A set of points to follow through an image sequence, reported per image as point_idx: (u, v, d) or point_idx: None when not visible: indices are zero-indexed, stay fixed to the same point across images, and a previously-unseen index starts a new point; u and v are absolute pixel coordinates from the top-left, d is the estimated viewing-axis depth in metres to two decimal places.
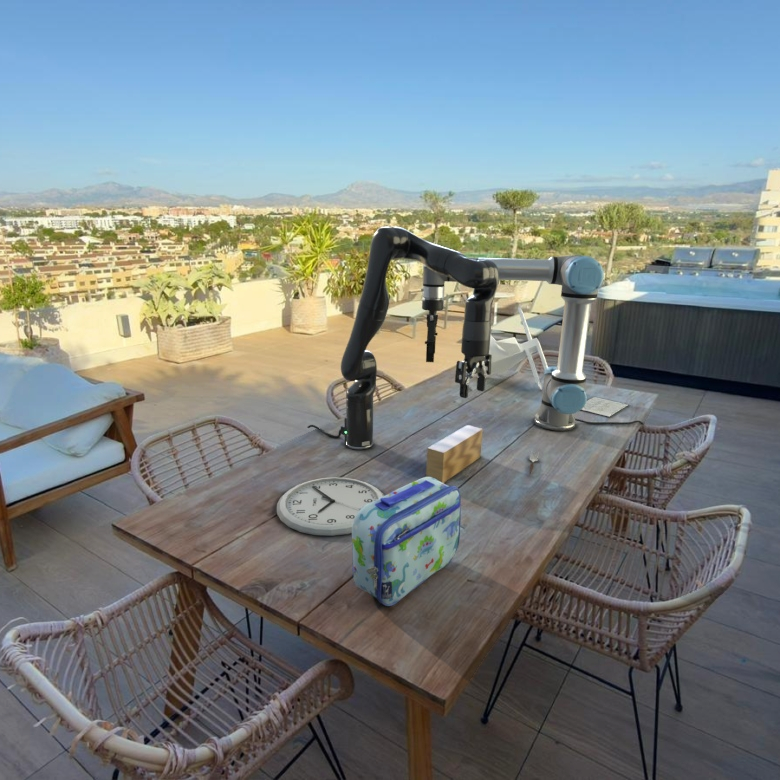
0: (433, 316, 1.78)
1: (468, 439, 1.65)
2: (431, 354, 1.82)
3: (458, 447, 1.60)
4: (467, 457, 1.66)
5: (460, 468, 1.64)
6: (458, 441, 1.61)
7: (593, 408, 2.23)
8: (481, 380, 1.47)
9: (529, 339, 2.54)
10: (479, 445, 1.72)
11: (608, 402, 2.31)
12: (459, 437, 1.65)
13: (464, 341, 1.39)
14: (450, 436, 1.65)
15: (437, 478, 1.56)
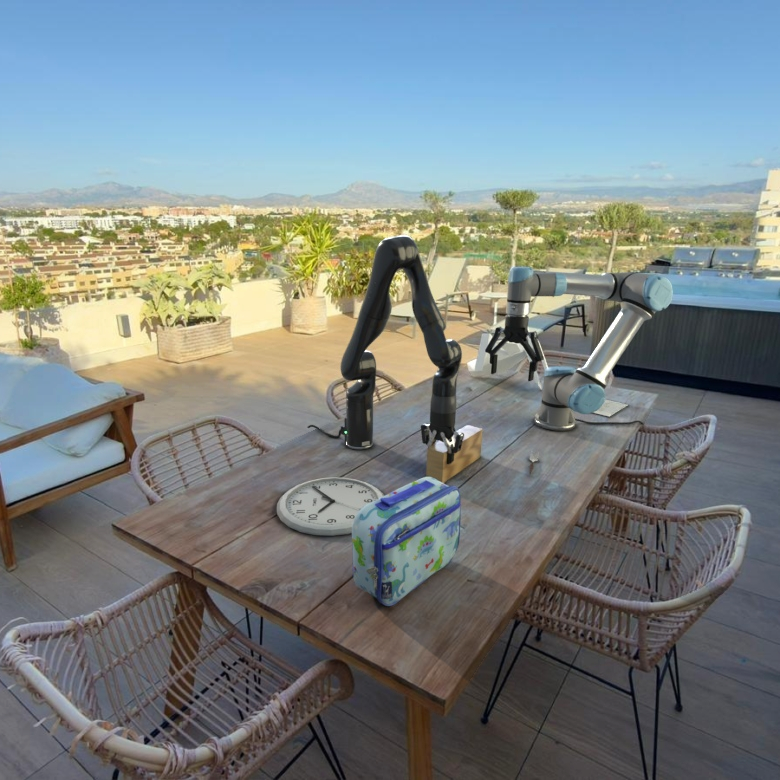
0: (535, 332, 1.71)
1: (468, 439, 1.65)
2: (533, 372, 1.74)
3: None
4: (467, 457, 1.66)
5: (460, 468, 1.64)
6: None
7: None
8: None
9: (529, 339, 2.54)
10: (479, 445, 1.72)
11: (608, 402, 2.31)
12: None
13: (450, 415, 1.50)
14: None
15: (437, 478, 1.56)
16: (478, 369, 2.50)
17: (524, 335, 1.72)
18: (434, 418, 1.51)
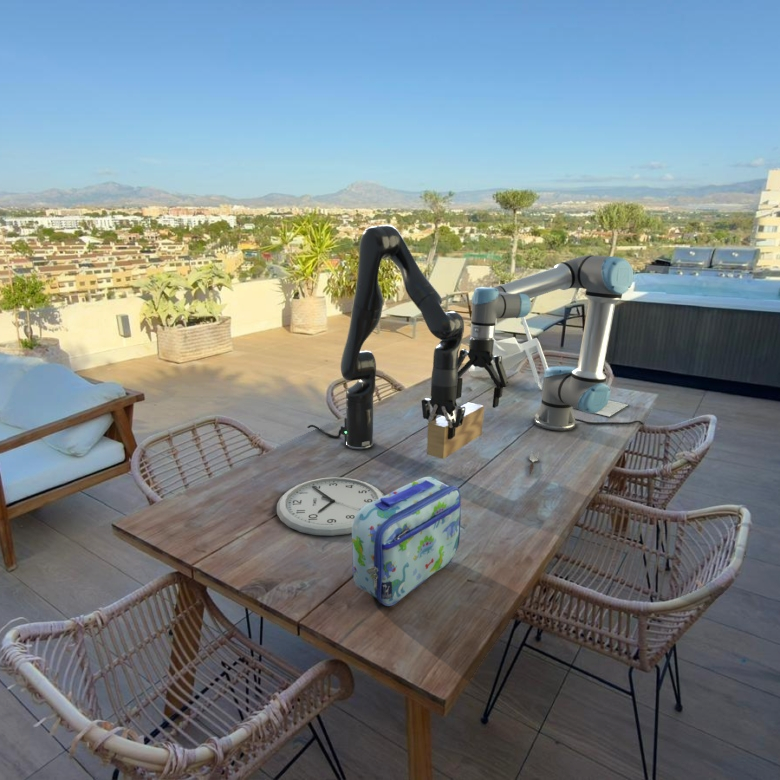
0: (500, 357, 1.62)
1: (469, 415, 1.62)
2: (498, 398, 1.65)
3: None
4: (468, 434, 1.64)
5: (461, 444, 1.62)
6: None
7: None
8: None
9: (529, 339, 2.54)
10: (480, 422, 1.70)
11: (608, 402, 2.31)
12: None
13: (451, 389, 1.48)
14: None
15: (438, 453, 1.54)
16: (478, 369, 2.50)
17: (488, 359, 1.63)
18: (435, 392, 1.49)
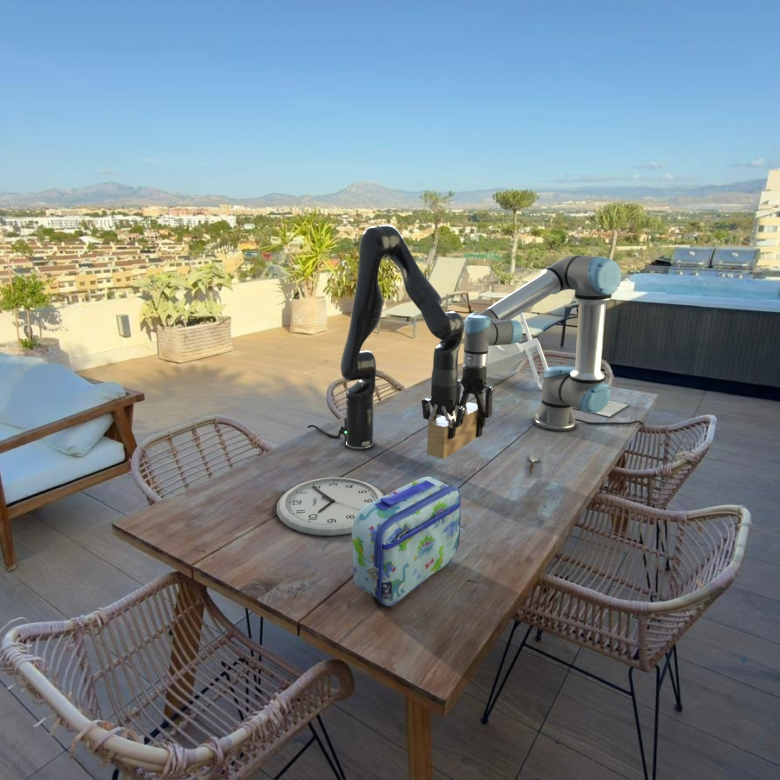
0: (493, 389, 1.63)
1: (470, 415, 1.62)
2: (481, 427, 1.69)
3: None
4: (468, 434, 1.64)
5: (461, 444, 1.61)
6: None
7: None
8: None
9: (529, 339, 2.54)
10: None
11: (608, 402, 2.31)
12: None
13: (451, 389, 1.48)
14: None
15: (438, 453, 1.54)
16: None
17: (482, 387, 1.63)
18: (435, 392, 1.49)
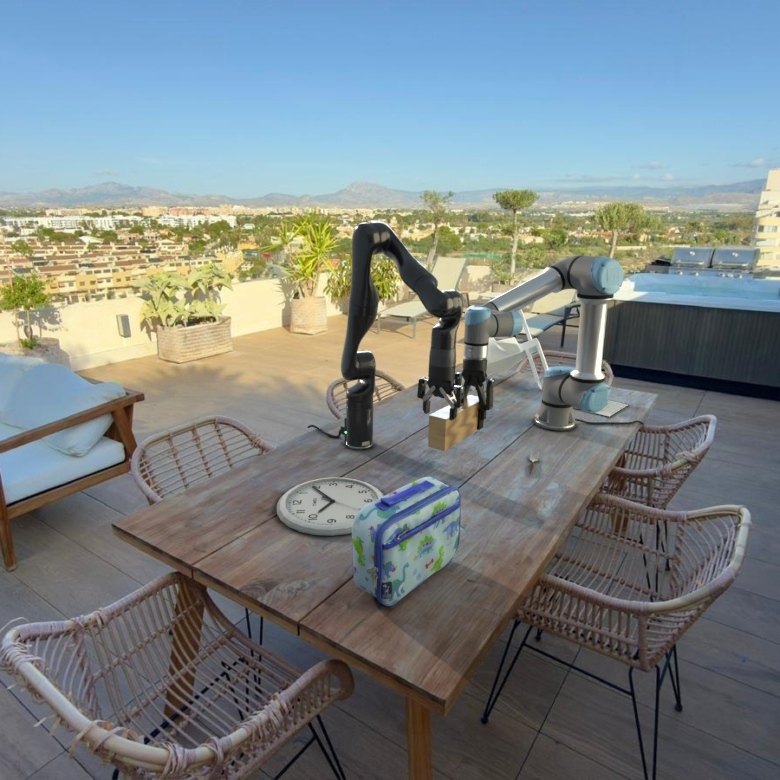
0: (494, 381, 1.62)
1: (471, 407, 1.61)
2: (482, 420, 1.68)
3: (460, 415, 1.57)
4: (469, 426, 1.63)
5: (463, 437, 1.61)
6: (460, 409, 1.58)
7: None
8: (428, 402, 1.53)
9: (529, 339, 2.54)
10: None
11: (608, 402, 2.31)
12: None
13: (450, 369, 1.44)
14: None
15: (439, 446, 1.53)
16: None
17: (482, 379, 1.63)
18: (433, 373, 1.45)
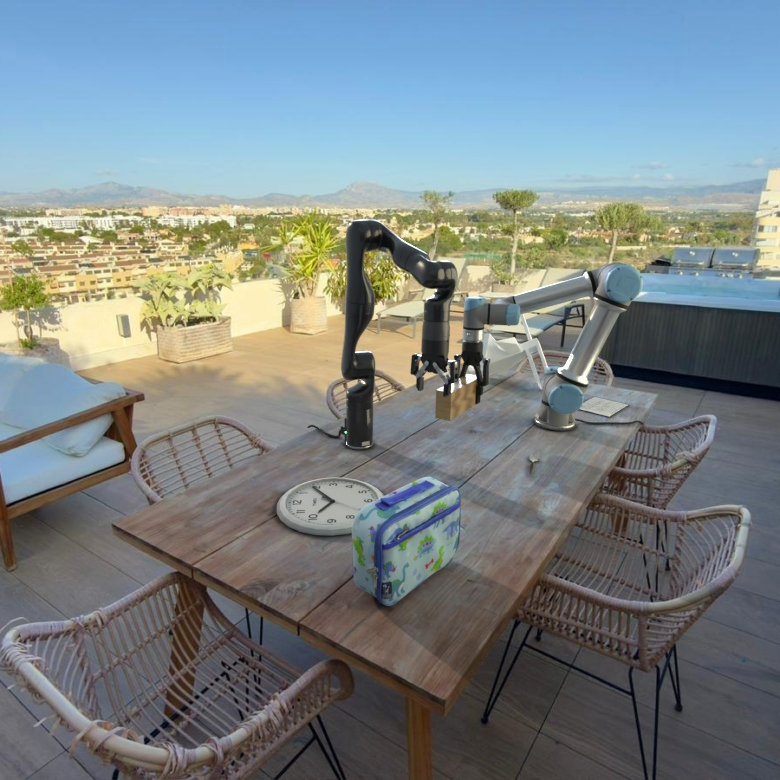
0: (489, 360, 1.87)
1: (470, 383, 1.85)
2: (479, 395, 1.92)
3: (462, 390, 1.81)
4: (469, 400, 1.87)
5: (464, 409, 1.85)
6: (461, 385, 1.82)
7: (593, 408, 2.23)
8: (422, 379, 1.48)
9: (529, 339, 2.54)
10: None
11: (608, 402, 2.31)
12: (462, 382, 1.85)
13: (443, 343, 1.39)
14: None
15: (445, 416, 1.77)
16: None
17: (479, 359, 1.87)
18: (426, 347, 1.40)
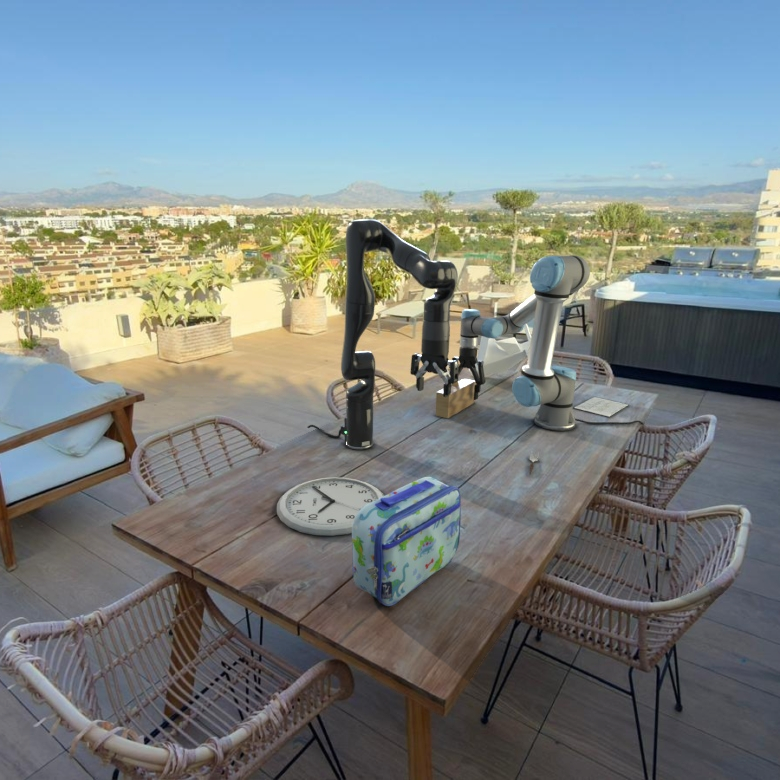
0: (482, 362, 2.19)
1: (465, 387, 2.18)
2: (477, 392, 2.24)
3: (459, 392, 2.14)
4: (464, 401, 2.20)
5: (460, 409, 2.18)
6: (458, 388, 2.15)
7: (593, 408, 2.23)
8: (422, 379, 1.48)
9: (529, 339, 2.54)
10: (473, 393, 2.26)
11: (608, 402, 2.31)
12: (459, 385, 2.18)
13: (443, 343, 1.39)
14: (452, 385, 2.19)
15: (444, 414, 2.10)
16: None
17: (474, 362, 2.19)
18: (426, 347, 1.40)
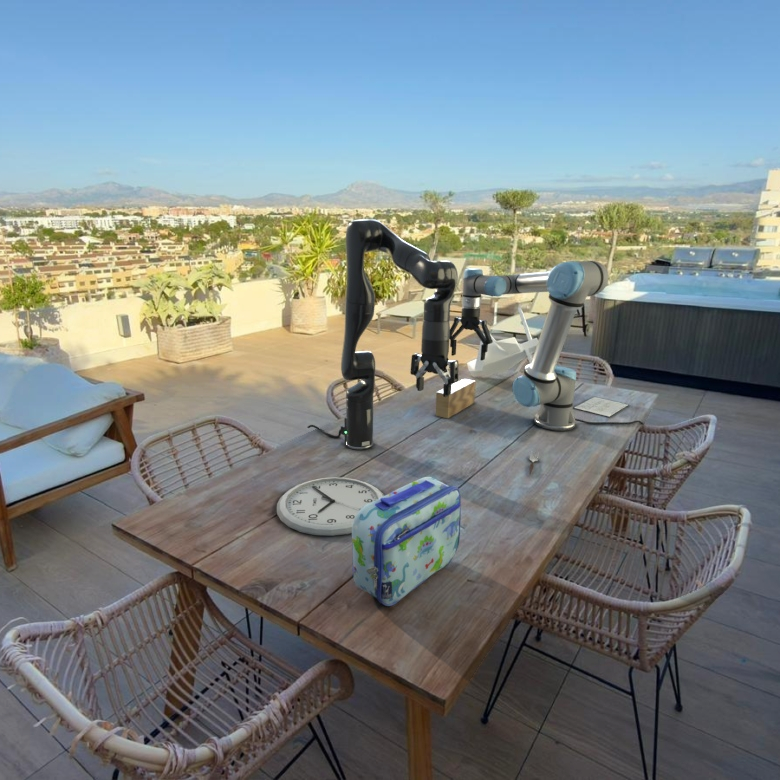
0: (485, 321, 2.14)
1: (465, 387, 2.18)
2: (484, 353, 2.17)
3: (459, 392, 2.14)
4: (464, 401, 2.20)
5: (460, 409, 2.18)
6: (458, 388, 2.15)
7: (593, 408, 2.23)
8: (422, 379, 1.48)
9: (529, 339, 2.54)
10: (473, 393, 2.26)
11: (608, 402, 2.31)
12: (459, 385, 2.18)
13: (443, 343, 1.39)
14: (452, 385, 2.19)
15: (444, 414, 2.10)
16: (478, 369, 2.50)
17: (476, 323, 2.14)
18: (426, 347, 1.40)
